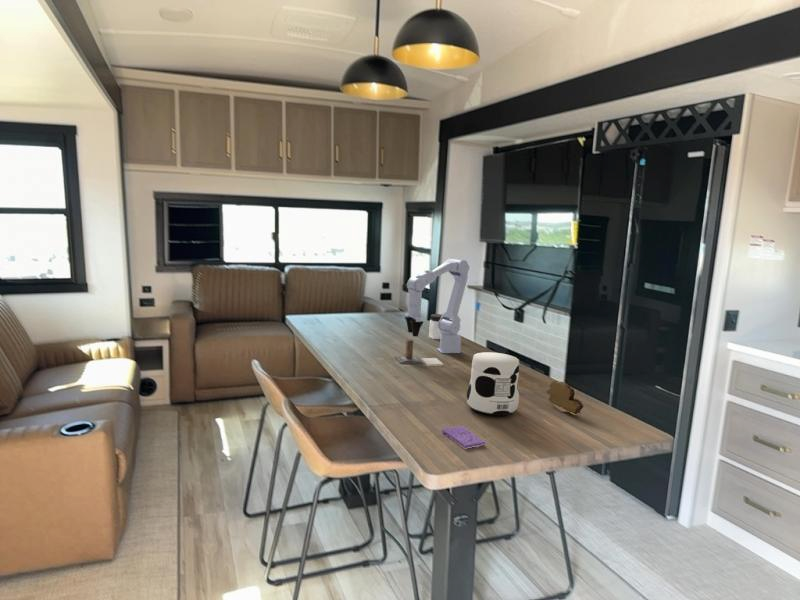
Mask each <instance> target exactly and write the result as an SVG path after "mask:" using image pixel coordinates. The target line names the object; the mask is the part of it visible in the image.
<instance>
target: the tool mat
mask: <svg viewBox="0 0 800 600" xmlns="http://www.w3.org/2000/svg"><path fill="white" fill-rule="evenodd" d="M400 357H406V355H395V356H394V359H396V361H397V362H398V363H399V364H400V365H401V364H404V365H405V364H406V365H409V364H414V365H415V364H424V362H423V361H422V360H421V359H420V358H419V357H418V356H417V355H412V357H416V358H417V359H418V360H419V362H403V361H402V360H401V359H400Z"/></svg>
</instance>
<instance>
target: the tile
mask: <svg viewBox="0 0 800 600" xmlns="http://www.w3.org/2000/svg"><path fill="white" fill-rule="evenodd" d="M420 360H421V361H422V362H423V364H425V365H426V367H443V366H444V363H443V362H442V361H441V360H439V359H438V357H430V358H429V357H427V358H426V357H424V358H421V359H420Z"/></svg>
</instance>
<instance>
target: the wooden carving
mask: <svg viewBox="0 0 800 600" xmlns="http://www.w3.org/2000/svg"><path fill="white" fill-rule="evenodd" d="M549 387H550V389H546V390H545V392H546V393H547V394H548V395H549V397H548V400H549V402H550V404H552V403H553V404H555V405H557V406H559V407H562V408H563V409H565V410H567V411H569V412H572V413H574V414H577V413H580V414H581V410H582V409H583V408H584V405H583V403H582V401H581V400H580V399H578V398H575V390H574V388H573V387H571V385H569V384H568V383H566V382H564V381H557V380H555V381H551V382H550V384H549ZM553 404H552V405H553ZM569 412H568V413H569ZM577 415H578V414H577Z"/></svg>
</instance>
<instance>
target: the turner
mask: <svg viewBox="0 0 800 600" xmlns="http://www.w3.org/2000/svg"><path fill="white" fill-rule="evenodd" d="M405 345H406V346H405V356H406V357H400V359H401V360H402V361H403V362H419V360H418V359H417V358H416V357H412V356H413V352H414V351H413V350H414V349H413V348H414V339H406V344H405Z"/></svg>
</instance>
